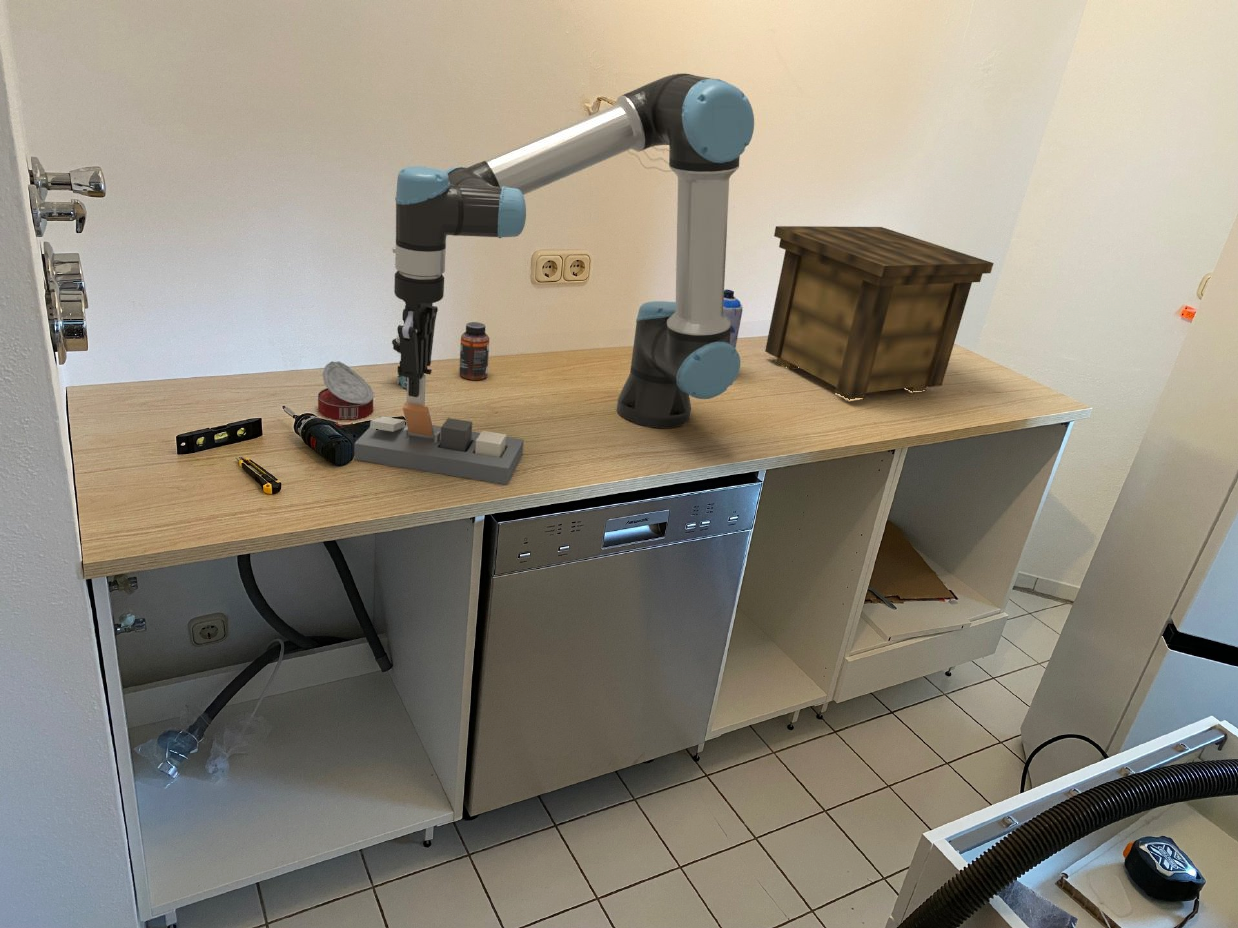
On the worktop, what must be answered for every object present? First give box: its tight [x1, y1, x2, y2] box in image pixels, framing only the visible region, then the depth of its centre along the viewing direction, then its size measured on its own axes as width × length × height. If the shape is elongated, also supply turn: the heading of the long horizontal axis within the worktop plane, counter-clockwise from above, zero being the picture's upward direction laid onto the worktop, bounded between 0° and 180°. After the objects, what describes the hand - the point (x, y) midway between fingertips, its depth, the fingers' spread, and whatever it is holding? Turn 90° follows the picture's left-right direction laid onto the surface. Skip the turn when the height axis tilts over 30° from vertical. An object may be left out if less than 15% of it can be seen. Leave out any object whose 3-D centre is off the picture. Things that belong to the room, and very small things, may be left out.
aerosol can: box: [723, 288, 743, 349], centre depth 208 cm, size 8×8×20 cm
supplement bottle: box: [458, 321, 490, 381], centre depth 190 cm, size 6×6×11 cm
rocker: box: [369, 416, 406, 432], centre depth 155 cm, size 4×6×1 cm, turn 173°
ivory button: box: [475, 430, 507, 458], centre depth 154 cm, size 4×4×4 cm
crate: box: [764, 225, 994, 400], centre depth 216 cm, size 35×35×33 cm
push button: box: [391, 334, 407, 389], centre depth 181 cm, size 7×5×10 cm
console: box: [353, 416, 525, 485], centre depth 155 cm, size 26×12×4 cm, turn 83°
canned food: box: [317, 360, 374, 422], centre depth 168 cm, size 11×10×10 cm
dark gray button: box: [440, 417, 473, 452], centre depth 154 cm, size 4×4×4 cm
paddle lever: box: [402, 403, 435, 439], centre depth 152 cm, size 4×1×8 cm
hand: (415, 411), depth 151 cm, fingers closed
